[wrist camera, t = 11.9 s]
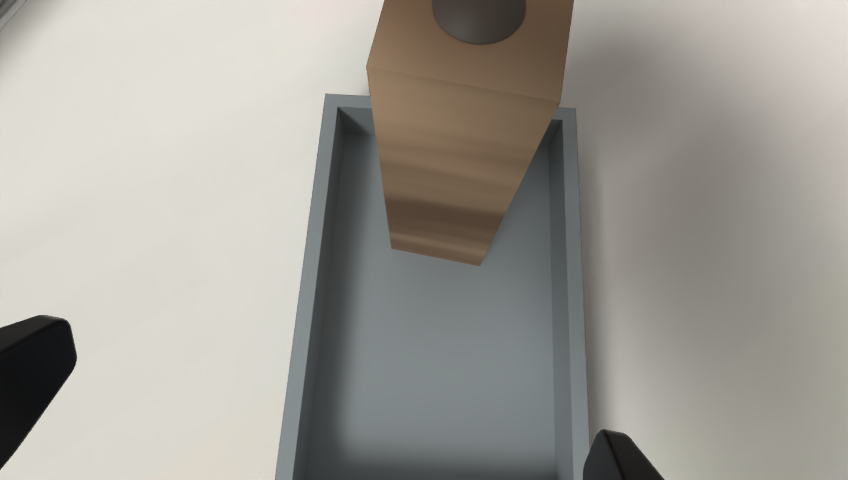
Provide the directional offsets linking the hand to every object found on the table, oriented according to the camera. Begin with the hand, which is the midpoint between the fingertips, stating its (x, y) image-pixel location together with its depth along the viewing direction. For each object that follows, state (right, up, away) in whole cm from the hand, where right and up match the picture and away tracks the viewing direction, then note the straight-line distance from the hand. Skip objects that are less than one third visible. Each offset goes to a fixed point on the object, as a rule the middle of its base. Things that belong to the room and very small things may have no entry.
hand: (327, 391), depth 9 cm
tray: (+2, 0, +14) cm, 14 cm away
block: (+2, +4, +15) cm, 16 cm away
